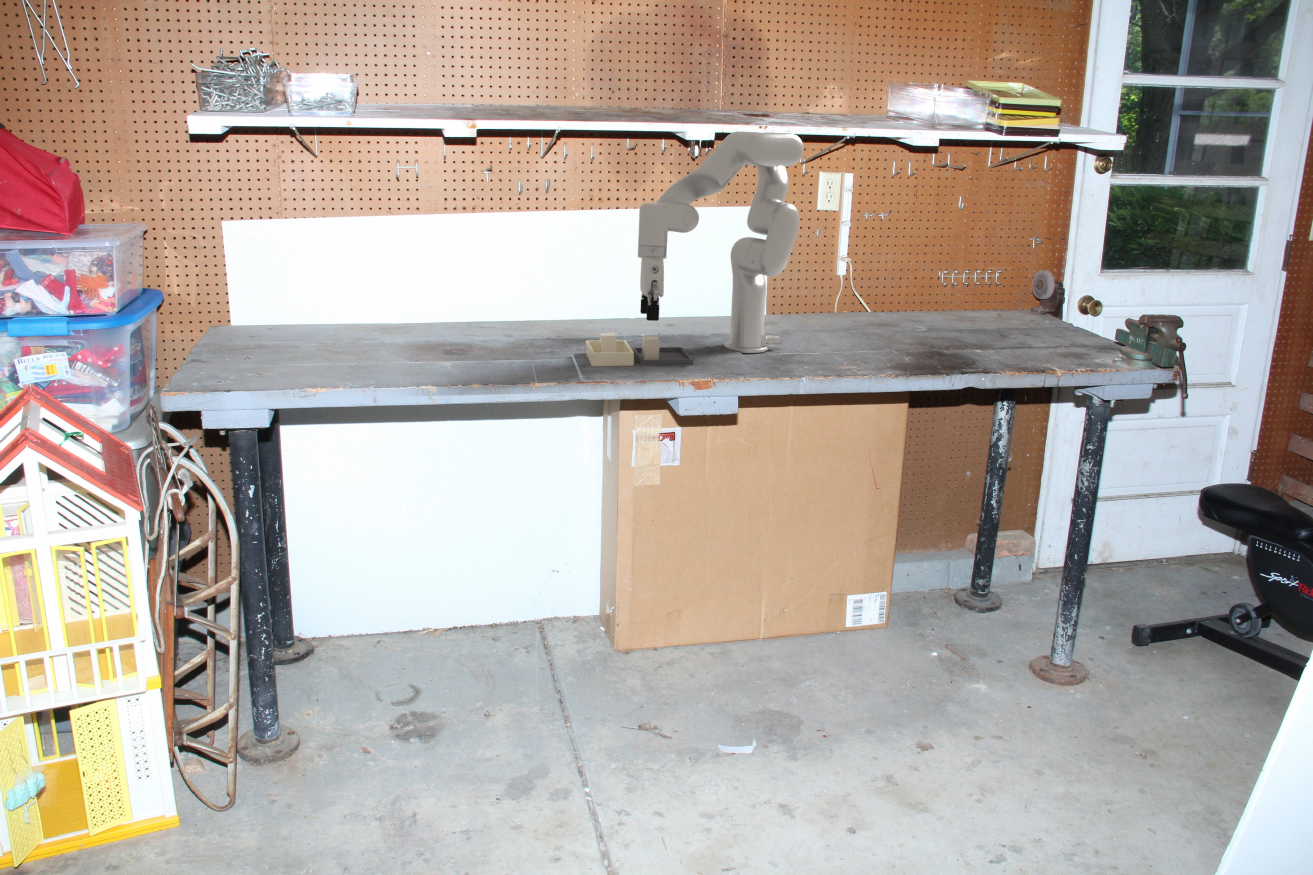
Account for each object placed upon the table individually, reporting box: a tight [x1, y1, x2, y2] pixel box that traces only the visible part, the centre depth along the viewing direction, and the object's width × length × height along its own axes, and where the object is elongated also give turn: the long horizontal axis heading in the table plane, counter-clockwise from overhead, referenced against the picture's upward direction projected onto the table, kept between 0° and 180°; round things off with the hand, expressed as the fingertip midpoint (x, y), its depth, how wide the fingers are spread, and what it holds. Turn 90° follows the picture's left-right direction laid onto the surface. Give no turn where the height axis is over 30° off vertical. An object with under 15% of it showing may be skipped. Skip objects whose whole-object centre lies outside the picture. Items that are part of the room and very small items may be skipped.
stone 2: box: [641, 335, 660, 360], centre depth 263 cm, size 4×4×6 cm
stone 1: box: [599, 332, 617, 352], centre depth 266 cm, size 4×4×6 cm
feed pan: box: [631, 346, 694, 366], centre depth 266 cm, size 14×15×2 cm
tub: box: [585, 339, 635, 367], centre depth 263 cm, size 11×15×4 cm
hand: (649, 317), depth 260 cm, fingers open, 9 cm apart
